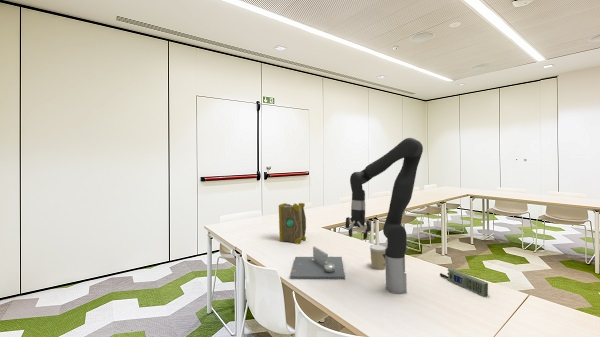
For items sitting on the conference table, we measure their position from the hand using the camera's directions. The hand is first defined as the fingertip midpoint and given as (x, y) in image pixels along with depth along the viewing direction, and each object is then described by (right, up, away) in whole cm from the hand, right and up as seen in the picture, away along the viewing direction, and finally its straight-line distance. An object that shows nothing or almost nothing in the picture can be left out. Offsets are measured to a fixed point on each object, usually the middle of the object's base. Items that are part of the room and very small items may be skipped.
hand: (357, 237), depth 155 cm
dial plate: (-21, -22, +15) cm, 34 cm away
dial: (-18, -20, +13) cm, 30 cm away
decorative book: (-37, -20, +70) cm, 82 cm away
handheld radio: (+50, -22, -12) cm, 56 cm away
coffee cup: (+15, -21, +14) cm, 29 cm away
